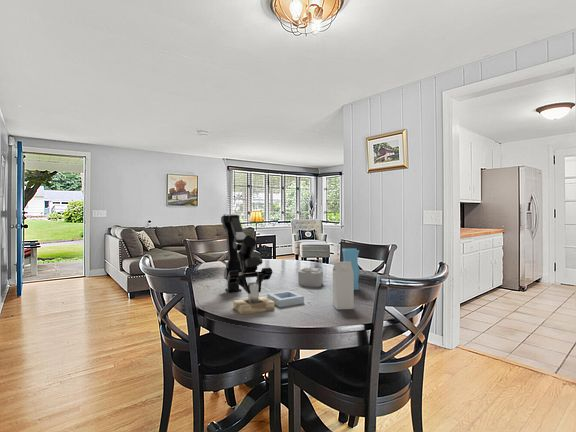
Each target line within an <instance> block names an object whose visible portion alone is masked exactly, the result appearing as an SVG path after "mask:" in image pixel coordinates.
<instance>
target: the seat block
mask: <svg viewBox="0 0 576 432" xmlns="http://www.w3.org/2000/svg"><path fill="white" fill-rule="evenodd" d="M266 298H268V299H270V300H272V301H274V304H275V306H276V307H278V308H283V307H289V306H295V305H302V304H305V296H304V295H302V294H300V293H297V292H295V291H294V290H293V291H292V290H286V291H278V292H272V293H270V292H269V293H267V294H266Z"/></svg>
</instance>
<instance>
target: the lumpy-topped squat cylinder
mask: <svg viewBox="0 0 576 432" xmlns="http://www.w3.org/2000/svg"><path fill="white" fill-rule="evenodd" d="M297 271H298V272H297V274H298V275H297V276H298V277H297V278H298V280H297V282H298V283H297V284H298V285H300V286H304V287H313V288H314V287H315V288H317V287H321V285H323V284H324V283H323V282H324V281H323V279H324V278H323V277H324V275H323V273H324V272H323V270H321V269H320V268H315V267H314V266H313V267H312V266H311V267H310V268H309V267H304V268H301V269H299V270H297Z"/></svg>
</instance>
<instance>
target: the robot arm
mask: <svg viewBox="0 0 576 432" xmlns="http://www.w3.org/2000/svg"><path fill="white" fill-rule="evenodd" d="M220 221H221V224H222V228H223V229H224V230H225V232H226V242H227V254H228V260H227V262H226V264H225V268H224V273H223V278H224V279H225V281H227V288H225V291H227V292H228V293H235V292H242V289H243V290H244V291H245V292H246V293H247V295H248V294H249V293H250V291H249V287H248V281H247V278H255V279H256V280H255V282H256V283H259V293H261V291H262V282H263V281H269V280H271V277H272V275H273V269H272V268H271V267H262V268H261V271H257V270H258V266H260V265H262V264H263V258H262V256H261V255H260V256H256V257H253V254H254V251H255V248H256V246H257V240H256V239H255V238H253V237H251V235H247V234H245V232H244V229H243V227H242V224H241V220H240V214H237V213H236V214H235V213H232V214H231V213H230V214H229V213H227V214H226V213H224V214H223V215H221V218H220ZM240 287H241V288H242V289H241V288H240Z"/></svg>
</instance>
